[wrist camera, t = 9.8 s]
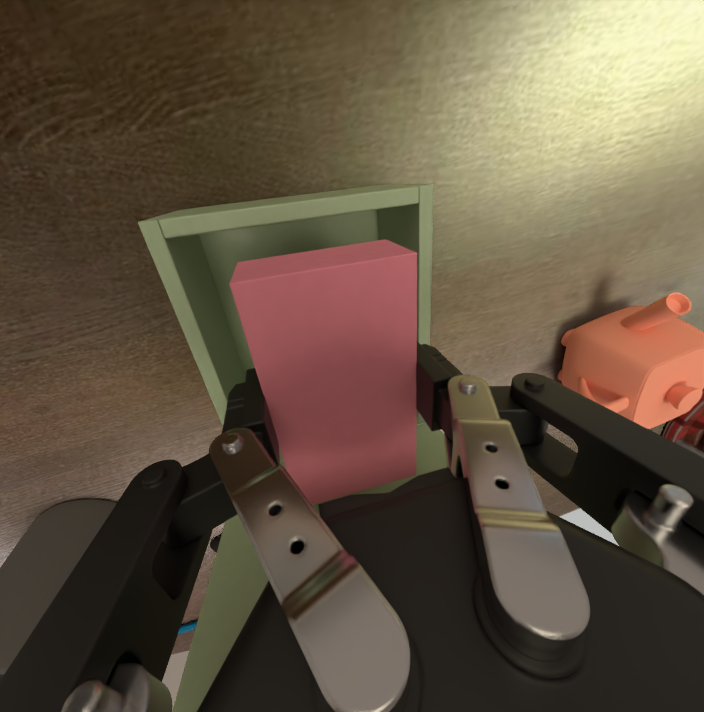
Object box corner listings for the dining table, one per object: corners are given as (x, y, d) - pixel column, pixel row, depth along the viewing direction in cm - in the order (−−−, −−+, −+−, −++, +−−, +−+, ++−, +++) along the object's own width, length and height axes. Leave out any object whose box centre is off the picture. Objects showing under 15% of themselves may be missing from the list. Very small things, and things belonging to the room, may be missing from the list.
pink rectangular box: (236, 261, 11) (228, 283, 8) (386, 238, 12) (417, 252, 9) (293, 460, 16) (298, 509, 13) (395, 433, 17) (416, 475, 14)
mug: (75, 569, 32) (-13, 750, 22) (4, 520, 27) (-152, 721, 17) (206, 521, 33) (181, 669, 23) (160, 466, 28) (103, 623, 18)
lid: (70, 1070, 5) (170, 1194, 6) (760, 711, 7) (738, 851, 8) (238, 471, 20) (257, 534, 21) (430, 421, 23) (437, 481, 24)
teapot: (514, 364, 33) (601, 426, 25) (600, 268, 30) (735, 302, 21) (576, 407, 40) (662, 469, 31) (652, 333, 36) (772, 378, 28)
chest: (179, 209, 20) (136, 222, 13) (382, 184, 22) (434, 183, 15) (246, 402, 27) (240, 471, 21) (391, 369, 30) (428, 422, 23)
